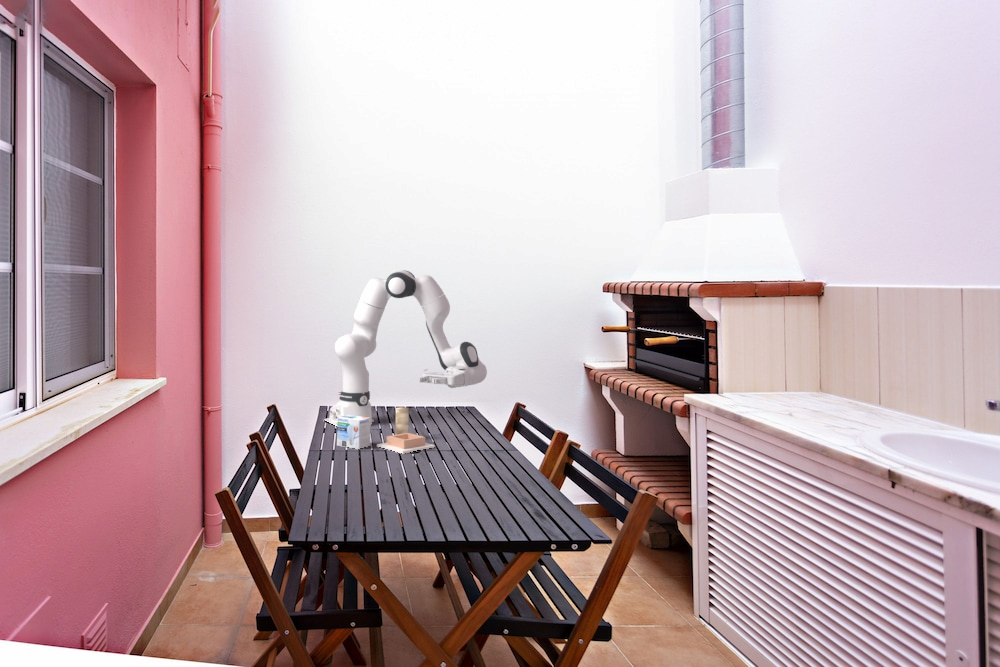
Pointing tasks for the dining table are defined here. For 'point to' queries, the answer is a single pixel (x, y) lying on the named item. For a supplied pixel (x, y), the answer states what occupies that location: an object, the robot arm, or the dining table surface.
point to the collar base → (405, 443)
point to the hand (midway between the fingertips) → (427, 381)
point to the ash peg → (402, 420)
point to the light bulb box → (353, 431)
